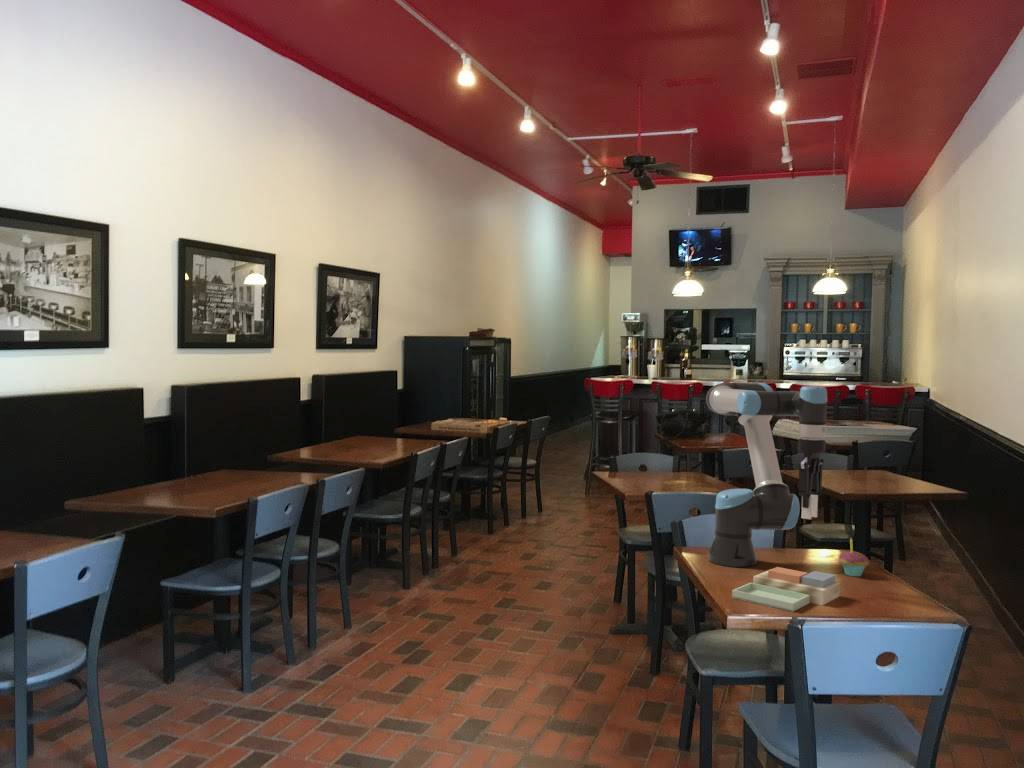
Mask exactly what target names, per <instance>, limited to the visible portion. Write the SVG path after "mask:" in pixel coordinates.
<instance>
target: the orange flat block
mask: <svg viewBox="0 0 1024 768" xmlns="http://www.w3.org/2000/svg"><path fill="white" fill-rule="evenodd" d="M770 569H771V570H770ZM770 569H768V570H767V571H768V578H773V579H778V580H783V581H788V582H793V583H798V584H800V583H802V576H804V575H807V574H809V573H808V572H806V571H800V570H795V569H790V568H784V567H781V566H780V567H779V566H776V567H774V568H770Z"/></svg>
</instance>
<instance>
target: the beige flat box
mask: <svg viewBox="0 0 1024 768" xmlns="http://www.w3.org/2000/svg"><path fill="white" fill-rule="evenodd" d="M771 569H772V568H770V569H769V570H771ZM752 579H753V581H752V583H755V584H760V585H765V586H770V587H774V588H779V589H784V590H788V591H793V592H798V593H803V594H807V595H810V603H809V604H815V605H819V606H825V605H826V604H828V603H830V602H833V601H834V600H836V599H838V598H840V582H838V581H835V582H834V583H832V584H830V585H828V586H827V587H825V588H820V587H815V586H810V585H805V584H802V583H800V584H798V583H793V582H788V581H783V580H778V579H773V578H768V570H765V571H763V572H761V573H759V574H756V575H753V578H752Z"/></svg>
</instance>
